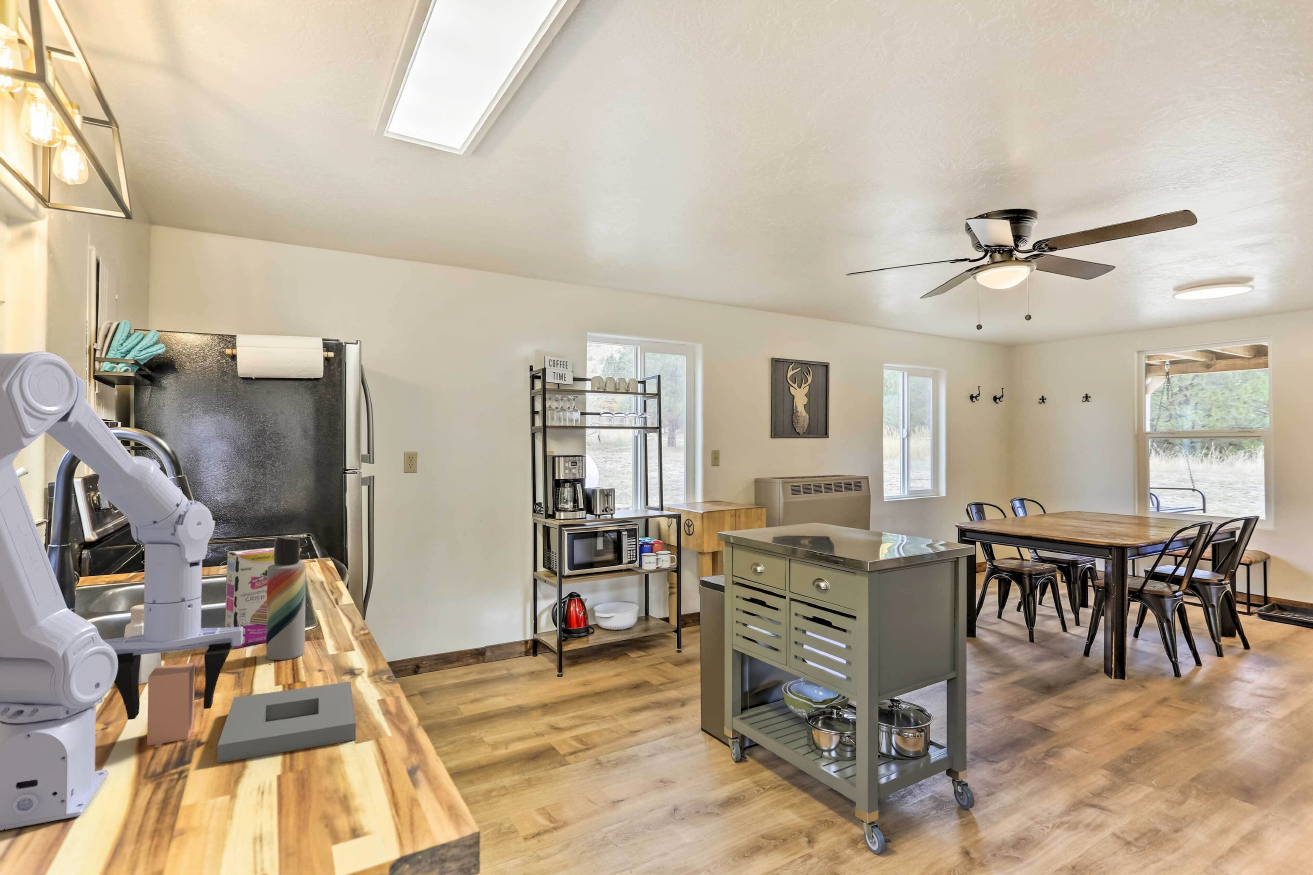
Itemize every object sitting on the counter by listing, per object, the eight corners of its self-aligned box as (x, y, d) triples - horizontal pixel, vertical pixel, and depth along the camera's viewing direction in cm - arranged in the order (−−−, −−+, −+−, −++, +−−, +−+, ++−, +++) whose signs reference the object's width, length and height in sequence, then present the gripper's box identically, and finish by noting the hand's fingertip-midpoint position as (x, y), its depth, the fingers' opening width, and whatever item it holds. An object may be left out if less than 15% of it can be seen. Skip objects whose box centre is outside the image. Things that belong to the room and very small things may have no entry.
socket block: (355, 739, 82) (355, 722, 82) (217, 763, 75) (217, 744, 75) (350, 695, 96) (350, 681, 96) (233, 712, 90) (234, 697, 90)
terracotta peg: (188, 738, 82) (189, 671, 82) (147, 745, 80) (148, 676, 80) (193, 726, 85) (194, 662, 85) (154, 732, 83) (155, 666, 84)
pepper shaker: (171, 674, 105) (172, 602, 105) (141, 686, 99) (143, 610, 100) (139, 672, 105) (140, 601, 105) (107, 684, 100) (109, 609, 100)
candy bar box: (234, 649, 117) (235, 554, 118) (223, 644, 121) (224, 551, 121) (301, 636, 126) (302, 547, 126) (289, 631, 129) (291, 544, 129)
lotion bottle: (267, 652, 116) (269, 534, 116) (305, 648, 118) (306, 533, 118) (264, 662, 111) (266, 539, 111) (303, 658, 113) (305, 537, 113)
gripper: (245, 587, 90) (244, 691, 89) (107, 597, 83) (105, 709, 83) (240, 598, 83) (238, 709, 83) (90, 610, 77) (88, 731, 77)
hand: (171, 711), depth 83 cm, fingers open, 7 cm apart
